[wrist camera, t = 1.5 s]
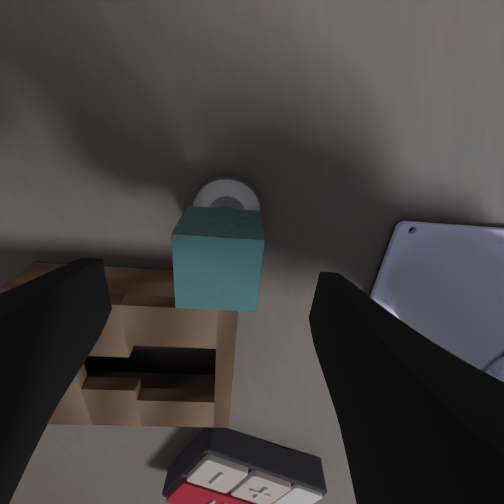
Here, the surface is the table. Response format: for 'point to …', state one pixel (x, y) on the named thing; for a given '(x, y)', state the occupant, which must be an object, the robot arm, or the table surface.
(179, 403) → the keyhole plate
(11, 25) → the table surface
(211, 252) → the peg
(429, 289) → the robot arm
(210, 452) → the calculator
